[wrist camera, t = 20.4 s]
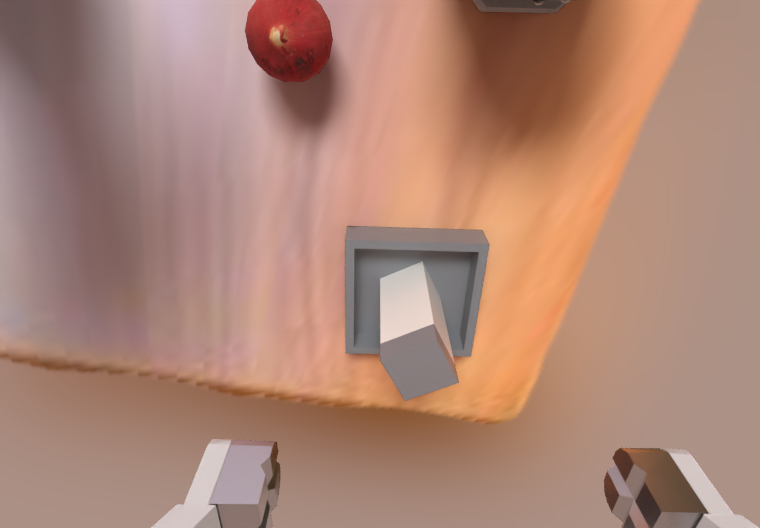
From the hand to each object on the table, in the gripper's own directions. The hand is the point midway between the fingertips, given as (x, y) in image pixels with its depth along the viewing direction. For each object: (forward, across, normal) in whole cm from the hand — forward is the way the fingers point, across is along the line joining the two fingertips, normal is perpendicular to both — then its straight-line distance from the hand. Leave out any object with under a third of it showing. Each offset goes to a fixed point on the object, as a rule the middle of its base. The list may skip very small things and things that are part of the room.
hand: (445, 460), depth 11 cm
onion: (+31, +8, -8) cm, 33 cm away
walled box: (+31, -2, +14) cm, 34 cm away
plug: (+31, -2, +14) cm, 34 cm away
